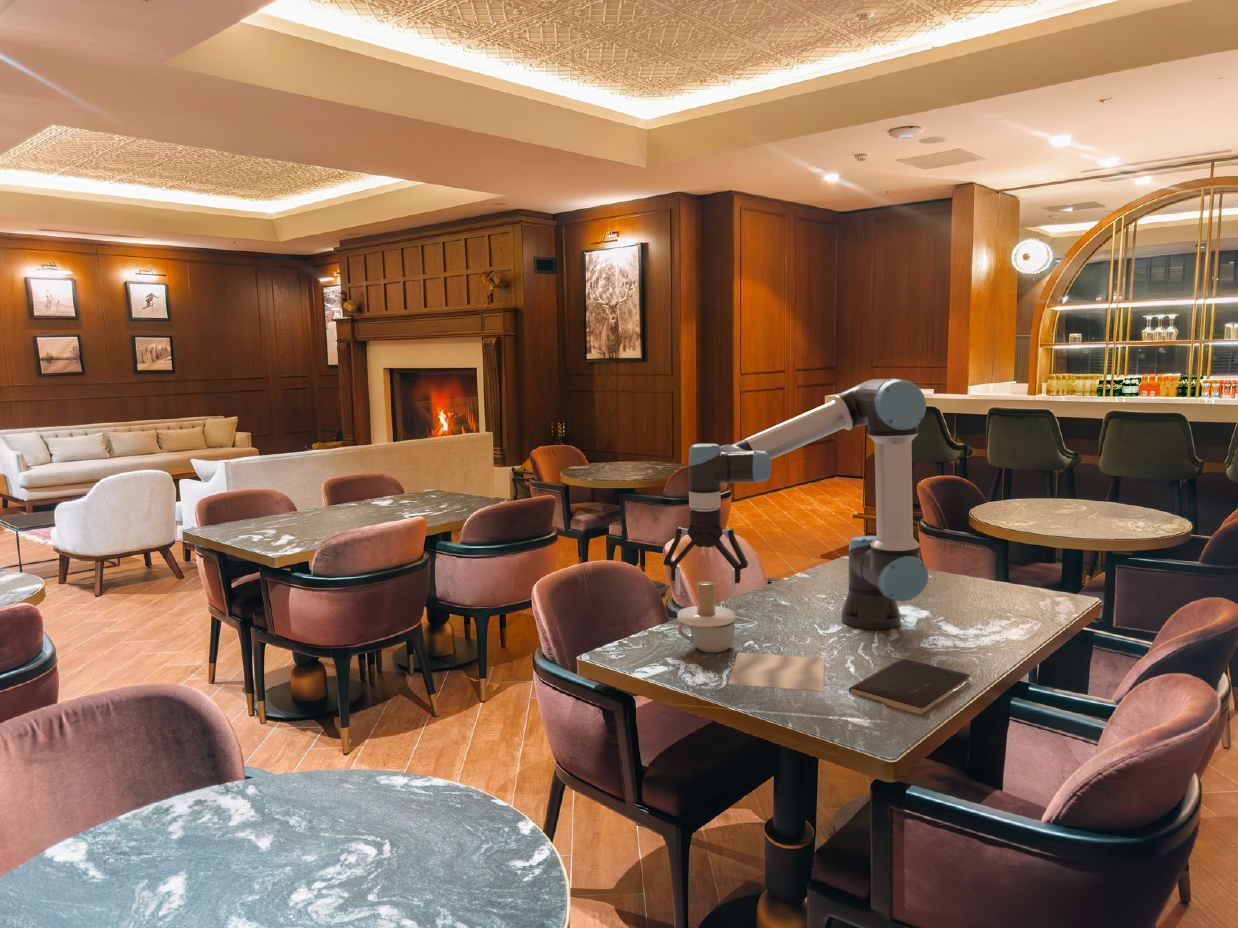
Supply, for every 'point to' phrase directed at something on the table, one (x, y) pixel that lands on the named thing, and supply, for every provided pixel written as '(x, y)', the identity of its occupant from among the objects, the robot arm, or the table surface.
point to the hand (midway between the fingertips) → (705, 594)
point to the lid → (706, 609)
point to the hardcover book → (910, 685)
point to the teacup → (710, 637)
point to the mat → (778, 671)
